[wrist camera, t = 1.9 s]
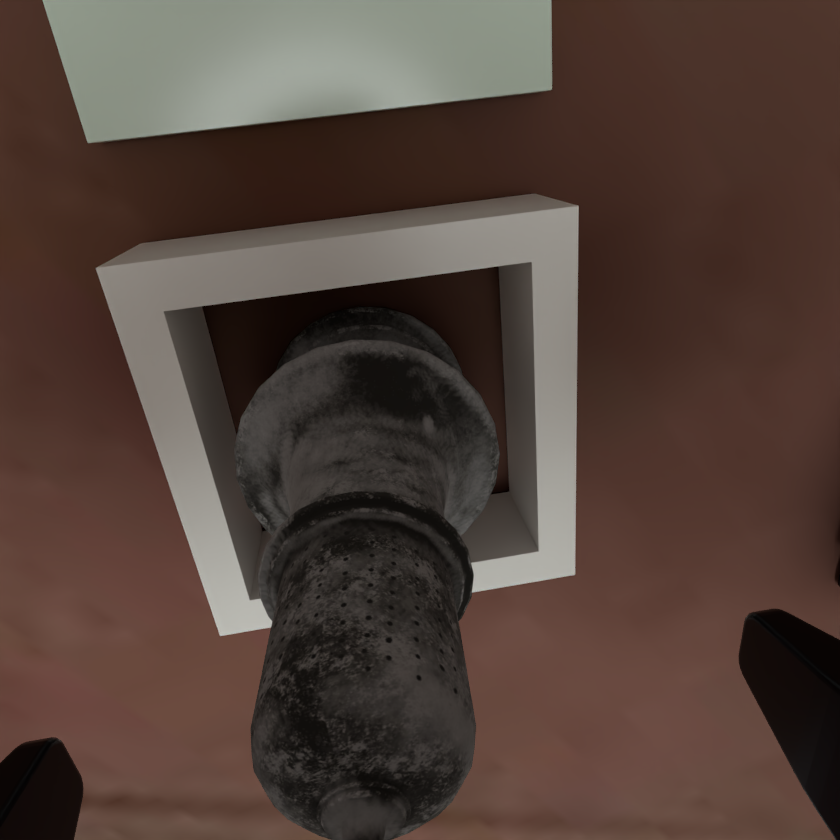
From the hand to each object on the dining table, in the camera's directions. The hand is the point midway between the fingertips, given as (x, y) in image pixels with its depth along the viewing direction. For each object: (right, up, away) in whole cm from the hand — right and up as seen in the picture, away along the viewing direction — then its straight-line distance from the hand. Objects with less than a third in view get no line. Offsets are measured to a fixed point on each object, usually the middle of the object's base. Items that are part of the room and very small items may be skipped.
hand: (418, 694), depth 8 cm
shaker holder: (-1, +4, +9) cm, 10 cm away
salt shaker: (-1, +4, +9) cm, 10 cm away
